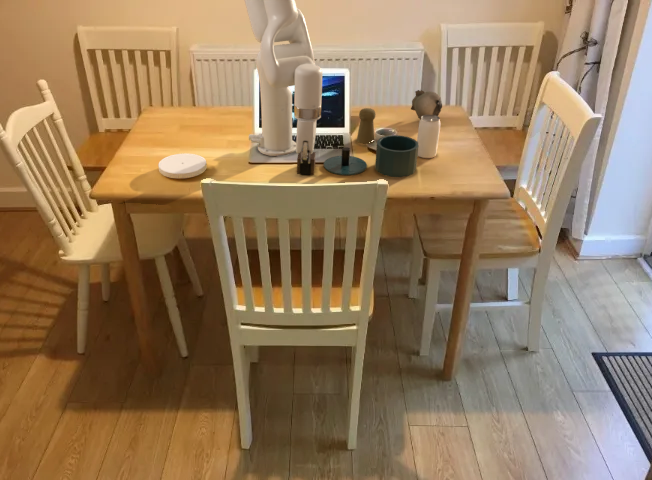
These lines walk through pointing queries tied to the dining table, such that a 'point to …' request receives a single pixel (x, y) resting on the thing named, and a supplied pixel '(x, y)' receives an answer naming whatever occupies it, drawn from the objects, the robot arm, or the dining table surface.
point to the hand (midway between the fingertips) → (306, 169)
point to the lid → (345, 164)
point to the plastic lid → (182, 165)
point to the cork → (366, 126)
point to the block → (312, 160)
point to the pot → (396, 156)
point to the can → (428, 136)
